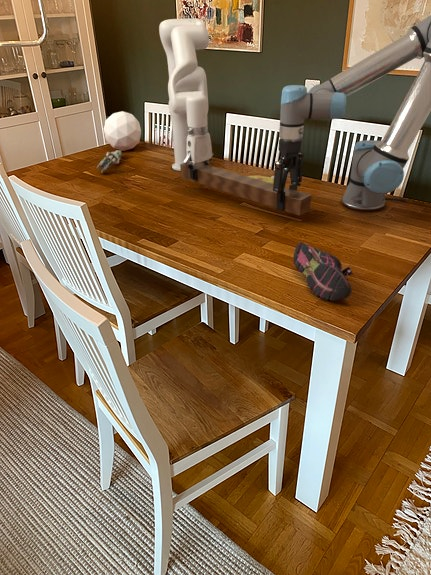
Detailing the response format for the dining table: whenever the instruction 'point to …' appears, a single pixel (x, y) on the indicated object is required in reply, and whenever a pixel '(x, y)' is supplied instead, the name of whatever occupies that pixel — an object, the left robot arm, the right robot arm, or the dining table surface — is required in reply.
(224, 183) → the beam
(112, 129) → the sphere
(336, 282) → the athletic shoe
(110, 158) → the figurine
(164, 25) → the left robot arm
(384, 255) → the dining table surface
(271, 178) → the decorative object
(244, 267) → the dining table surface
